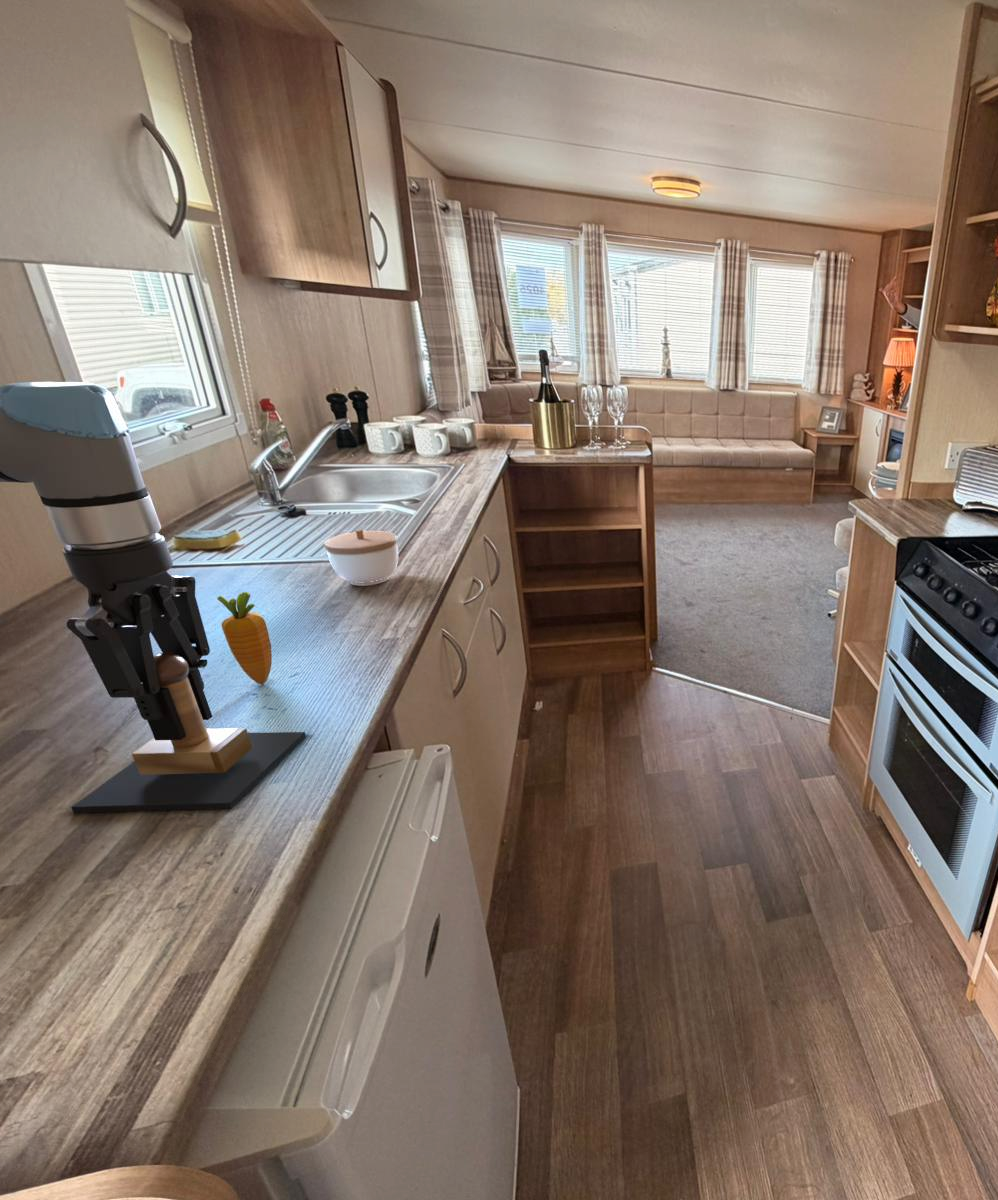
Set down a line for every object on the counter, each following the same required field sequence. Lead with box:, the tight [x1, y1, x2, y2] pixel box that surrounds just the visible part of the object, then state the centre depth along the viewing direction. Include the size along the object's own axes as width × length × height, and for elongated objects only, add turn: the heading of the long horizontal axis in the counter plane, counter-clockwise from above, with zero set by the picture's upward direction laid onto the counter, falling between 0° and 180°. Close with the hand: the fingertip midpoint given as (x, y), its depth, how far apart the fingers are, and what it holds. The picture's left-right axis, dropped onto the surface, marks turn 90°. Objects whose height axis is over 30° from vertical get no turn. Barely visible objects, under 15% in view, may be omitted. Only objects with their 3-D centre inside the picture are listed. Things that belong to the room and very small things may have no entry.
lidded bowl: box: [323, 529, 399, 587], centre depth 134 cm, size 13×13×11 cm
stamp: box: [131, 652, 253, 775], centre depth 74 cm, size 9×5×14 cm, turn 96°
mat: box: [70, 731, 307, 814], centre depth 77 cm, size 16×14×1 cm
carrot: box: [216, 591, 273, 686], centre depth 93 cm, size 5×5×15 cm
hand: (184, 727), depth 75 cm, fingers closed on stamp, 3 cm apart
